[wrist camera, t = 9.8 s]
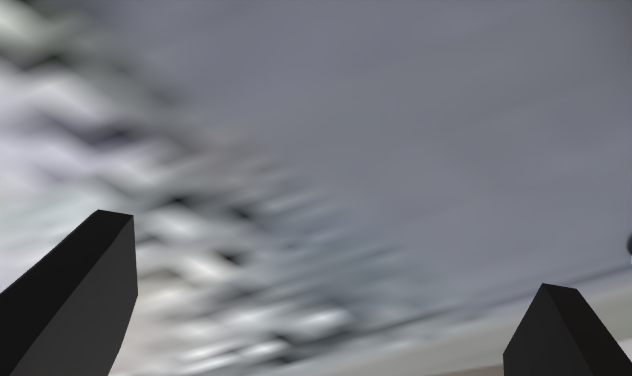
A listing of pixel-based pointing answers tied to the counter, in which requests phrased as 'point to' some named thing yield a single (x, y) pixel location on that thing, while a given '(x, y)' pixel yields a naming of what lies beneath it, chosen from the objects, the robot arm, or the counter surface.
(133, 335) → the counter surface
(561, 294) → the robot arm
